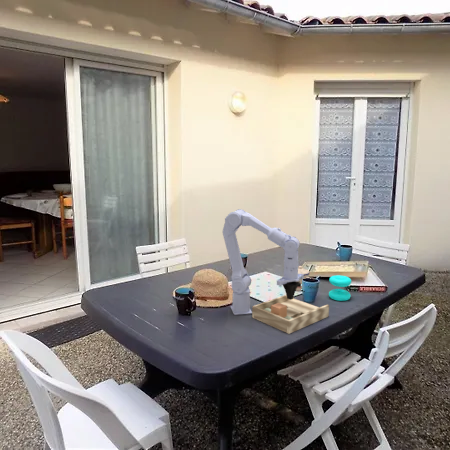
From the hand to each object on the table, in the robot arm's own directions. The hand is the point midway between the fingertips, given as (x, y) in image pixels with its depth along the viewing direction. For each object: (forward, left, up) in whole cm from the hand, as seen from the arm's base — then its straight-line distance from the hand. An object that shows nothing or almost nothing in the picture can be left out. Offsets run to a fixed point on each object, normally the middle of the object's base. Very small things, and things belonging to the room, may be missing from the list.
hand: (290, 298), depth 161 cm
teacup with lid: (-32, +18, -8) cm, 38 cm away
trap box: (0, +1, -8) cm, 8 cm away
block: (+4, -6, -6) cm, 9 cm away
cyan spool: (-17, +31, -8) cm, 36 cm away
